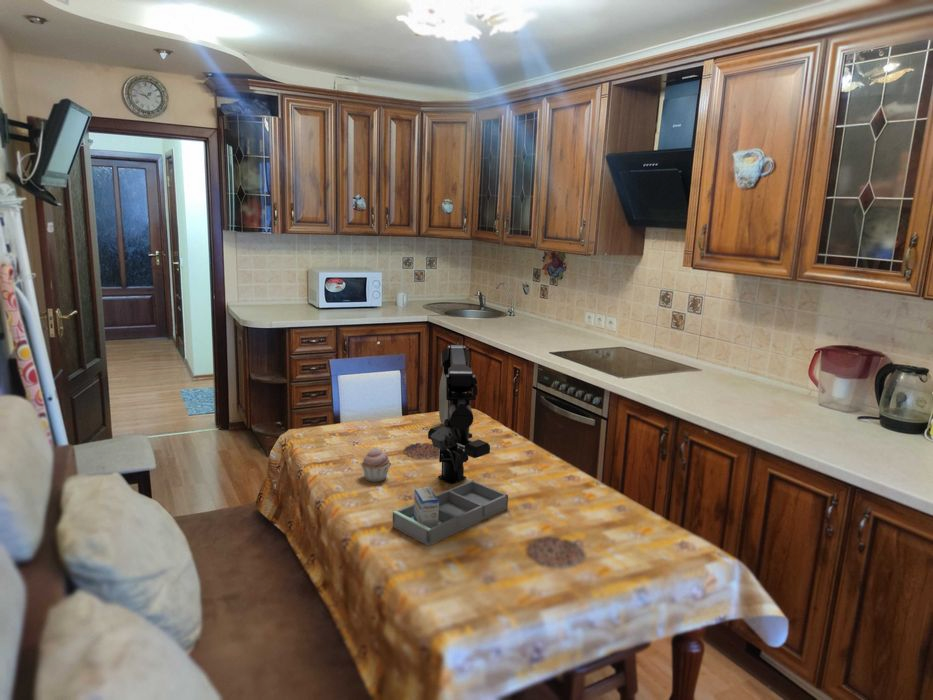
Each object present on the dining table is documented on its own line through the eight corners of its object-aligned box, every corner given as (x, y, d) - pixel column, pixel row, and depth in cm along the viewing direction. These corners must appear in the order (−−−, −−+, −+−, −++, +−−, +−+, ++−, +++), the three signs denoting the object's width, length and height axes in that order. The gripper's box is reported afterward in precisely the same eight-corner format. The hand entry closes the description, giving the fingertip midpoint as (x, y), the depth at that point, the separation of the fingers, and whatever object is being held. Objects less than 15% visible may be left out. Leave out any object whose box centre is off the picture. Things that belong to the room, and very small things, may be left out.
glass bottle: (438, 422, 247) (439, 352, 242) (464, 422, 248) (466, 353, 242) (438, 430, 238) (440, 358, 232) (465, 430, 239) (468, 358, 233)
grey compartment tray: (392, 526, 163) (392, 511, 163) (472, 492, 185) (472, 479, 184) (428, 546, 154) (428, 530, 153) (507, 508, 176) (508, 494, 175)
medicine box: (413, 519, 165) (413, 488, 164) (429, 516, 167) (430, 486, 165) (421, 533, 158) (422, 501, 156) (438, 530, 160) (439, 499, 158)
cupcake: (396, 475, 195) (397, 445, 193) (380, 486, 187) (380, 455, 185) (371, 469, 199) (371, 440, 197) (354, 480, 191) (354, 449, 189)
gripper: (413, 413, 169) (412, 467, 172) (462, 432, 156) (460, 490, 159) (443, 404, 176) (442, 456, 180) (492, 422, 164) (490, 478, 167)
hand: (457, 470), depth 171 cm, fingers closed
